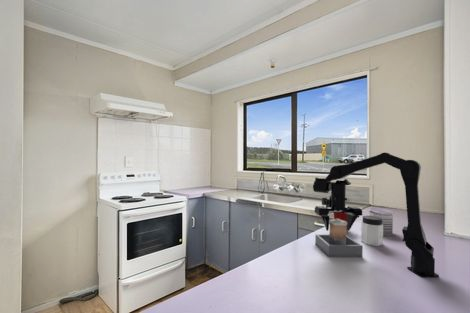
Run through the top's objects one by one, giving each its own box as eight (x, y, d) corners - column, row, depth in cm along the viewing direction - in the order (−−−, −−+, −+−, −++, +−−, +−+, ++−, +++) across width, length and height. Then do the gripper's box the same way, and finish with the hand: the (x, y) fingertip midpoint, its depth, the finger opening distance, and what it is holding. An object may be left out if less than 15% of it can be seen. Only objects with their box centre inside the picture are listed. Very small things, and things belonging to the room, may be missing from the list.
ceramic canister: (350, 239, 99) (350, 221, 99) (333, 239, 99) (333, 221, 99) (342, 233, 106) (342, 217, 106) (326, 233, 106) (326, 217, 106)
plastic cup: (340, 234, 125) (340, 211, 125) (327, 228, 135) (327, 207, 135) (357, 232, 127) (357, 210, 127) (343, 226, 138) (343, 206, 138)
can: (384, 229, 135) (384, 208, 135) (398, 235, 124) (398, 212, 124) (364, 228, 134) (364, 207, 135) (377, 235, 123) (377, 212, 123)
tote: (362, 256, 96) (362, 245, 96) (328, 256, 95) (328, 245, 95) (345, 244, 110) (345, 234, 110) (315, 244, 109) (315, 234, 109)
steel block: (345, 250, 100) (346, 238, 100) (334, 250, 100) (334, 238, 100) (340, 245, 105) (340, 234, 105) (329, 245, 105) (329, 234, 105)
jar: (376, 247, 107) (376, 220, 107) (358, 241, 113) (358, 216, 113) (385, 243, 111) (386, 218, 112) (368, 238, 118) (368, 214, 118)
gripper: (349, 192, 111) (349, 225, 111) (310, 191, 110) (309, 225, 110) (363, 196, 100) (362, 232, 100) (319, 195, 99) (319, 232, 99)
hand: (337, 230), depth 103 cm, fingers open, 9 cm apart
